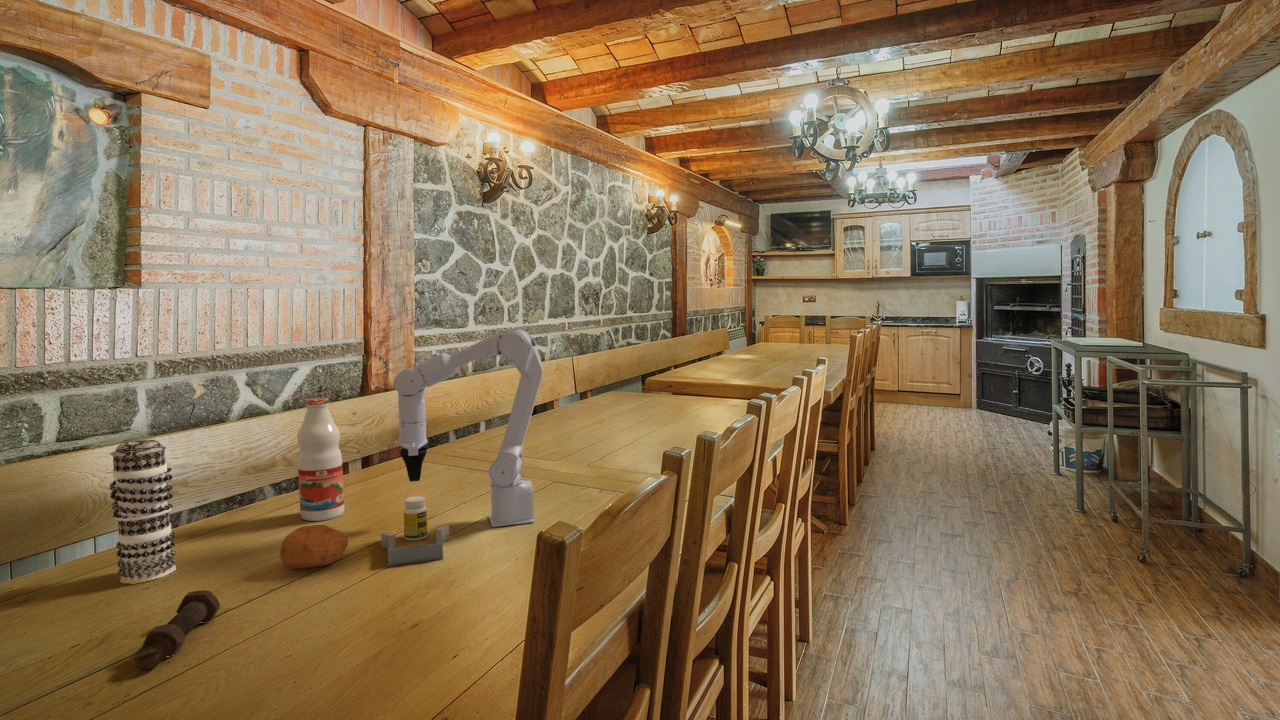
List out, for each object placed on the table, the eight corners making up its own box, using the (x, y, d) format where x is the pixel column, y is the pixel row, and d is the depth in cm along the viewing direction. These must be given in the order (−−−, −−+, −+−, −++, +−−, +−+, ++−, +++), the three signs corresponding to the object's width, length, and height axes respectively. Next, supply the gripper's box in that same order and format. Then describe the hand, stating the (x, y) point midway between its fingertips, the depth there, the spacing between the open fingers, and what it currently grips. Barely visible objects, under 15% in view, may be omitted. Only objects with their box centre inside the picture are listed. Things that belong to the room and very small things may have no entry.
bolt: (142, 686, 86) (198, 628, 101) (176, 666, 87) (227, 610, 102) (114, 654, 85) (175, 599, 100) (149, 633, 86) (204, 582, 100)
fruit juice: (345, 507, 157) (340, 395, 155) (343, 518, 149) (338, 400, 146) (302, 512, 154) (296, 397, 151) (298, 524, 145) (292, 402, 143)
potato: (301, 555, 127) (299, 519, 126) (357, 555, 126) (355, 519, 126) (273, 575, 118) (271, 535, 117) (333, 575, 117) (331, 536, 117)
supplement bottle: (420, 542, 134) (418, 503, 133) (399, 540, 134) (398, 501, 134) (432, 534, 138) (430, 496, 137) (412, 532, 139) (410, 495, 138)
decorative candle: (191, 567, 121) (182, 438, 119) (139, 588, 112) (128, 449, 110) (157, 561, 124) (148, 435, 122) (104, 581, 115) (93, 445, 113)
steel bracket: (449, 538, 136) (448, 524, 135) (452, 557, 125) (451, 543, 125) (381, 546, 131) (381, 532, 131) (378, 567, 120) (378, 552, 120)
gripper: (394, 417, 149) (396, 473, 150) (392, 428, 136) (394, 490, 137) (426, 415, 152) (428, 471, 153) (427, 426, 138) (429, 487, 139)
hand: (414, 480), depth 145 cm, fingers closed
